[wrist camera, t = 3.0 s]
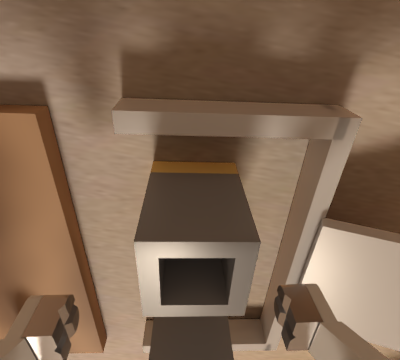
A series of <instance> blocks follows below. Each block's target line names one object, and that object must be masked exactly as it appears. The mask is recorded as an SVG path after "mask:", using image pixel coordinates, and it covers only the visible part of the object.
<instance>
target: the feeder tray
mask: <svg viewBox="0 0 400 360" xmlns="http://www.w3.org/2000/svg"><path fill="white" fill-rule="evenodd" d="M111 111H112V119H113V126H114V134H140V135H179V136H217V137H256V138H294V139H310V141H309V144H308V148H307V151H306V155H305V159H304V162H303V166H302V170H301V173H300V177H299V180H298V184H297V188H296V191H295V195H294V198H293V202H292V206H291V209H290V213H289V216H288V220H287V224H286V227H285V231H284V234H283V238H282V242H281V245H280V249H279V252H278V256H277V260H276V263H275V267H274V270H273V274H272V278H271V281H270V285H269V289H268V292H267V296H266V299H265V303H264V307H263V310H262V314H261V317H260V319H228V321H229V328H230V336H231V343H232V351H265V350H277V347H278V344H279V342H280V339H281V336H282V335H281V332H282V328H283V327H282V326H281V325H280V324H279V323H278V322H277V319H276V316H275V311H274V300H275V297H277V296H278V293H277V288H278V286H279V285H287V284H311V283H316V284H317V285H318V286H319V288H320V290H321V291H322V293H323V295H324V297H325V299H326V301H327V302H328V304H329V306H330V308H331V310H332V312H333V314H334V315H335V317H336V319H337V321H342V322H343V323H344V324H345V325H347V326H348V327H349V328H350V329H352V330H353V331H354V332H355V333H357V334H358V335H359V336H360V337H362V338H363V339H364V340H365V341H367V342H370V343H373V344H377V345H380V346H383V347H386V348H390V349H393V350H396V351H399V352H400V234H399V233H394V232H390V231H385V230H380V229H376V228H371V227H366V226H362V225H357V224H352V223H348V222H343V221H338V220H333V219H329V218H326V215H327V212H328V210H329V207H330V204H331V201H332V199H333V196H334V193H335V191H336V188H337V185H338V183H339V180H340V177H341V174H342V172H343V169H344V166H345V164H346V161H347V158H348V156H349V153H350V150H351V148H352V145H353V142H354V139H355V137H356V134H357V131H358V129H359V126H360V123H361V121H362V118H361V117H360V116H358V115H356V114H354V113H352V112H351V111H349V110H347V109H345V108H344V107H342V106H340V105H322V104H292V103H262V102H233V101H203V100H173V99H143V98H121V100H120V101H119V102H118V103H117V104H116V106H115V107H114V108H113V109H112V110H111ZM152 328H153V320H146V324H145V332H144V339H143V353H150V345H151V336H152Z"/></svg>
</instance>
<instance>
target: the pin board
mask: <svg viewBox="0 0 400 360" xmlns="http://www.w3.org/2000/svg"><path fill="white" fill-rule="evenodd" d="M66 294H73V295H74V298H75V302H74V305H76V306H77V307H78V309H79V323H78V327H77V330H76V333H75V334H74V335H73V336H72V337H71V338H70V342H71V348H70V351H69V353H103V351H104V347H105V343H106V339H107V336H106V332H105V328H104V324H103V320H102V316H101V313H100V309H99V305H98V301H97V297H96V293H95V289H94V285H93V281H92V277H91V274H90V270H89V266H88V262H87V258H86V254H85V250H84V246H83V242H82V238H81V234H80V231H79V227H78V223H77V219H76V215H75V211H74V207H73V203H72V199H71V195H70V192H69V188H68V184H67V180H66V176H65V172H64V168H63V164H62V160H61V156H60V152H59V149H58V145H57V141H56V137H55V133H54V129H53V125H52V121H51V117H50V113H49V110H48V106H30V105H0V339H5V337H6V335H7V333H8V331H9V330H10V328H11V326H12V324H13V323H14V321H15V319H16V317H17V316H18V314H19V312H20V310H21V308H22V307H23V305H24V303H25V301H26V300H27V299H28V298H29V297H30V296H31V295H66Z"/></svg>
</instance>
